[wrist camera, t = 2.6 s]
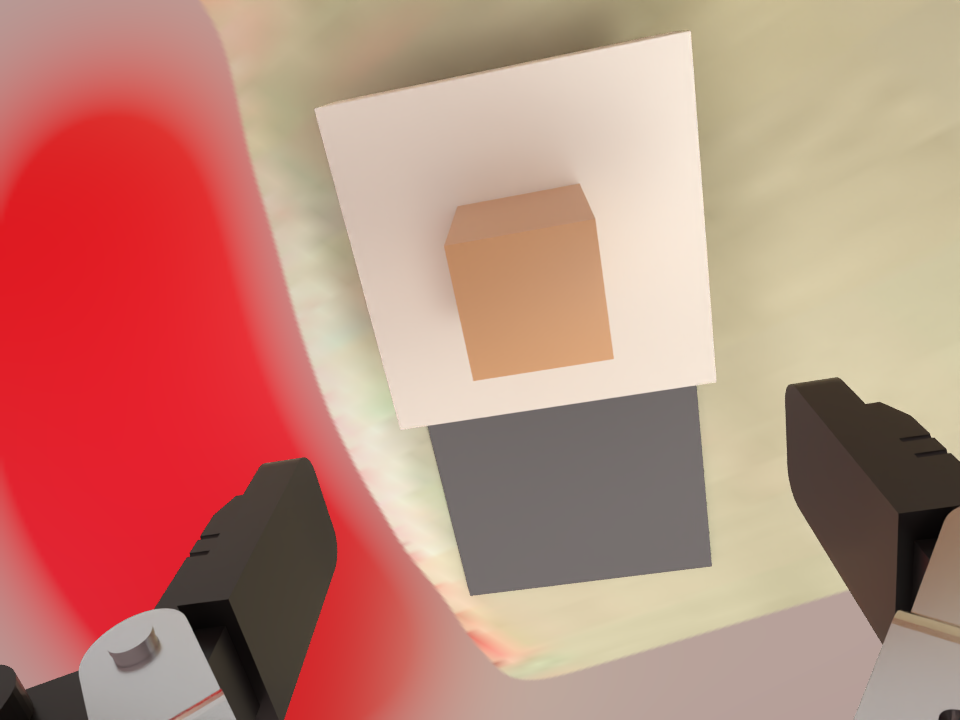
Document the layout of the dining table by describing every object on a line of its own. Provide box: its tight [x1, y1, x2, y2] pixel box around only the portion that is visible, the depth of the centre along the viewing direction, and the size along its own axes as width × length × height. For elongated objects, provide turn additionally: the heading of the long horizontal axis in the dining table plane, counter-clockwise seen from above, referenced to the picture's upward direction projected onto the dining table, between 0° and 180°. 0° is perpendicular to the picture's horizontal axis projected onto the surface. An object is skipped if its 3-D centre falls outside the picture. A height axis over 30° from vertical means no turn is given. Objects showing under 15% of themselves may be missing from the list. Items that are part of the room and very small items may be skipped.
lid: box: [314, 31, 716, 430], centre depth 23 cm, size 12×12×8 cm
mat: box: [428, 385, 712, 596], centre depth 37 cm, size 13×13×1 cm
